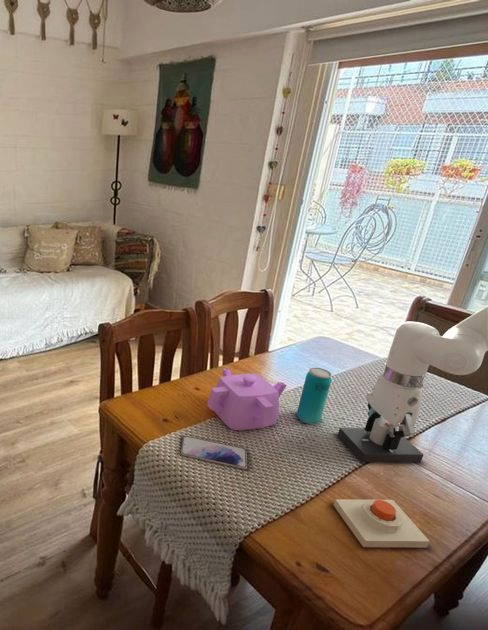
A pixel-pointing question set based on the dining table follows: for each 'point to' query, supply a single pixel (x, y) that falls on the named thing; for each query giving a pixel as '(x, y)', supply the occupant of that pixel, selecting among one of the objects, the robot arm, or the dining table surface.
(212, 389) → the teakettle
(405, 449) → the panel
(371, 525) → the block
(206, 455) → the smartphone
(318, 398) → the beverage can
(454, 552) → the dining table surface
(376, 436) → the timer knob
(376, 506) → the button
